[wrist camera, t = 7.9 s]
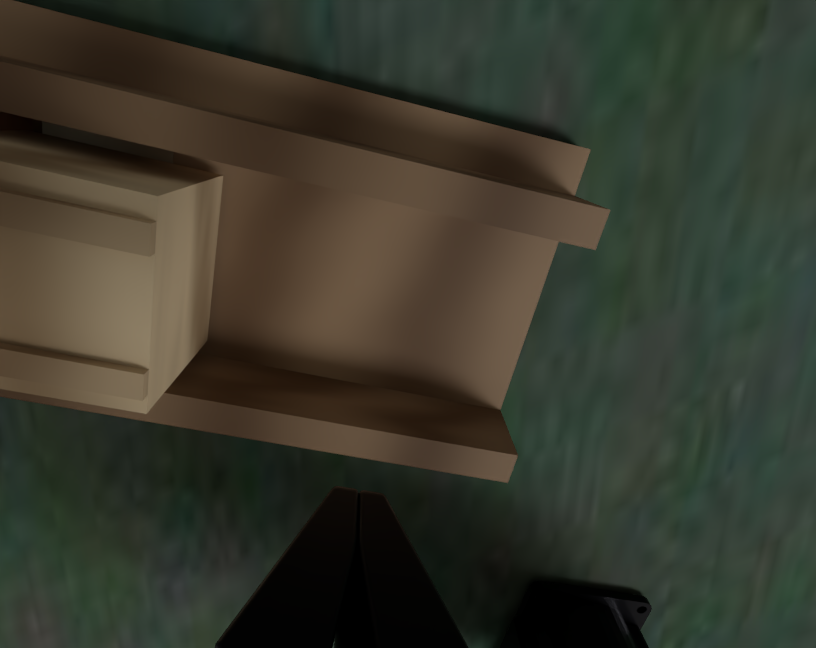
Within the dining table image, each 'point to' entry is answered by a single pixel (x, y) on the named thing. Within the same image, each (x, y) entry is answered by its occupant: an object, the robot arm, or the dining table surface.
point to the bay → (324, 240)
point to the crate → (101, 270)
